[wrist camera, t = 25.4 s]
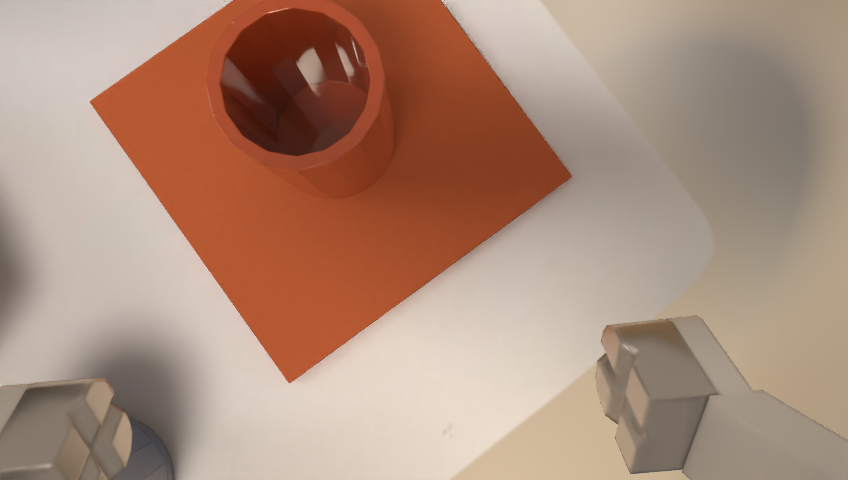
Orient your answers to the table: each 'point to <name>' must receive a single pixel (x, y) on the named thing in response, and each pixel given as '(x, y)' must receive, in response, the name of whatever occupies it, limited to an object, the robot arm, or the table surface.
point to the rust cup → (304, 96)
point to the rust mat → (346, 217)
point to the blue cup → (146, 456)
